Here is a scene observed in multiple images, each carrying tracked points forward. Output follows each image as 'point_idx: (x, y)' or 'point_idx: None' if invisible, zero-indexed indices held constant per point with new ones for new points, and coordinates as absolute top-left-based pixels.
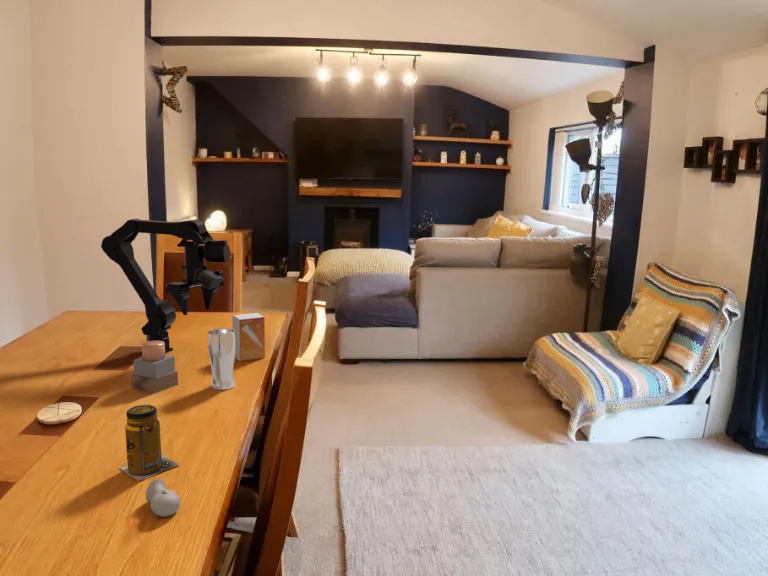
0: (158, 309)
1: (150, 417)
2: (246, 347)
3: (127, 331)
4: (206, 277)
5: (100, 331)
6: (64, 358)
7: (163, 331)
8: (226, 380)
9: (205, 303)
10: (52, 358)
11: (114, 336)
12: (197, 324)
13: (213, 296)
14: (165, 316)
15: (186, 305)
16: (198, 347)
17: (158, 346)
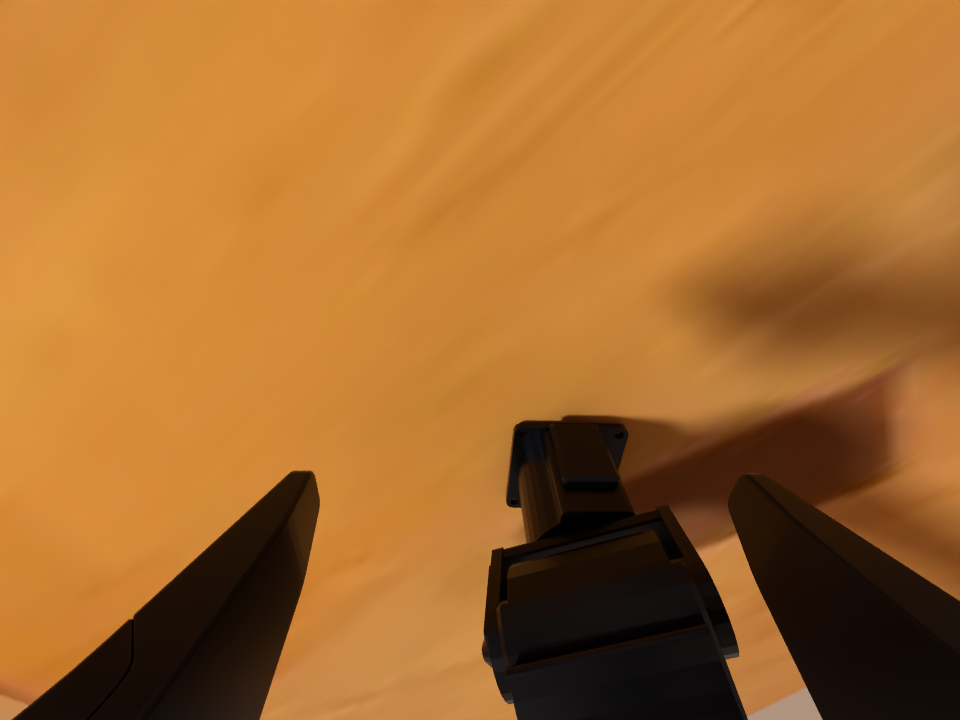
0: (746, 718)
1: None
2: None
3: (405, 680)
4: None
5: (457, 716)
6: (766, 615)
7: (588, 529)
8: None
9: (293, 593)
10: (774, 633)
11: (478, 670)
12: (122, 602)
13: (63, 682)
14: (697, 613)
15: (922, 602)
16: (399, 352)
17: None
